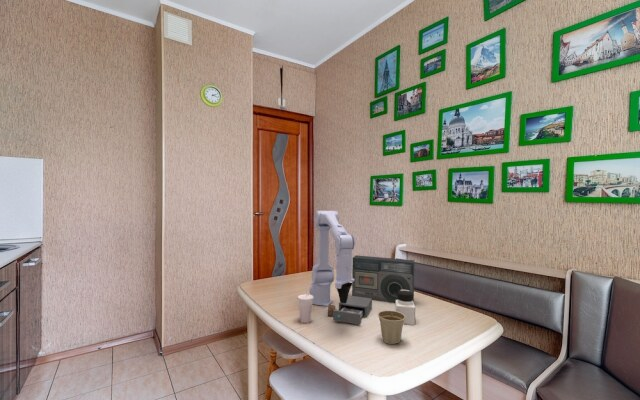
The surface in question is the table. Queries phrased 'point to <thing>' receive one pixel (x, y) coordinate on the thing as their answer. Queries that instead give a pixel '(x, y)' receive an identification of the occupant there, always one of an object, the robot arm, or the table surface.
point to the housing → (358, 304)
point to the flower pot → (391, 326)
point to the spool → (331, 310)
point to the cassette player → (381, 277)
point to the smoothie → (305, 306)
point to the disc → (350, 310)
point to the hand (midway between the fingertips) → (343, 302)
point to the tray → (348, 316)
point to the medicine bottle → (406, 306)
